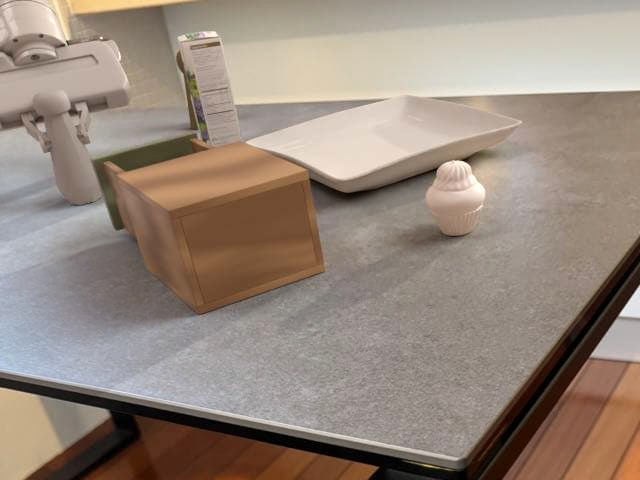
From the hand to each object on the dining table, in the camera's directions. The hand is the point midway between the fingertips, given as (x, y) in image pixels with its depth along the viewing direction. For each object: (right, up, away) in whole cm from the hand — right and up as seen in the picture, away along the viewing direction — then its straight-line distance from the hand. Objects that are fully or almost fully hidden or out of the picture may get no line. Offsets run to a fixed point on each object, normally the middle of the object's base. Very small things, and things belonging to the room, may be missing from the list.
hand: (66, 145), depth 103 cm
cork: (+11, +18, +30) cm, 37 cm away
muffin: (+49, -18, -18) cm, 55 cm away
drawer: (+17, -14, -9) cm, 23 cm away
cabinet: (+25, -22, -20) cm, 39 cm away
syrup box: (+16, +8, +18) cm, 25 cm away
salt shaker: (+1, -5, +5) cm, 7 cm away
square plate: (+40, 0, +4) cm, 40 cm away
